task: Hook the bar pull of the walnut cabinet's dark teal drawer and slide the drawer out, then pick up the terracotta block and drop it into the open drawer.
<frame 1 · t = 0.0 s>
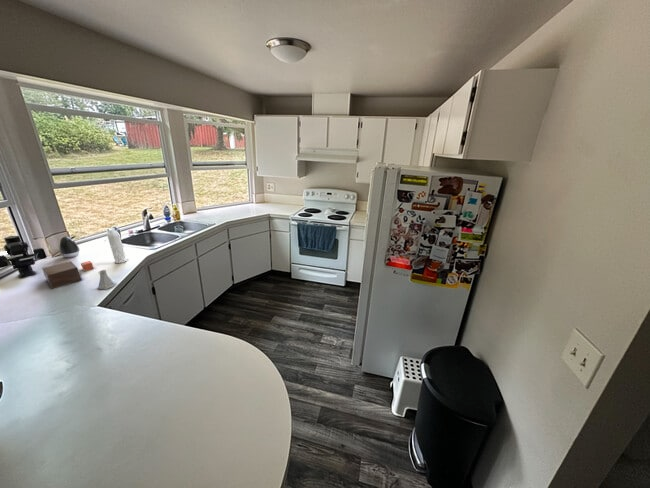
hand: (23, 261, 137), 17 cm above the table, tool horizontal, fingers open, 9 cm apart
white statue: (120, 262, 178), on the table
drawer: (60, 272, 152), point 4 cm above the table, slide at 0.5 cm
block: (88, 269, 166), on the table
cabinet: (64, 280, 151), on the table
black rounded dome: (72, 256, 185), on the table
flask: (107, 286, 146), on the table
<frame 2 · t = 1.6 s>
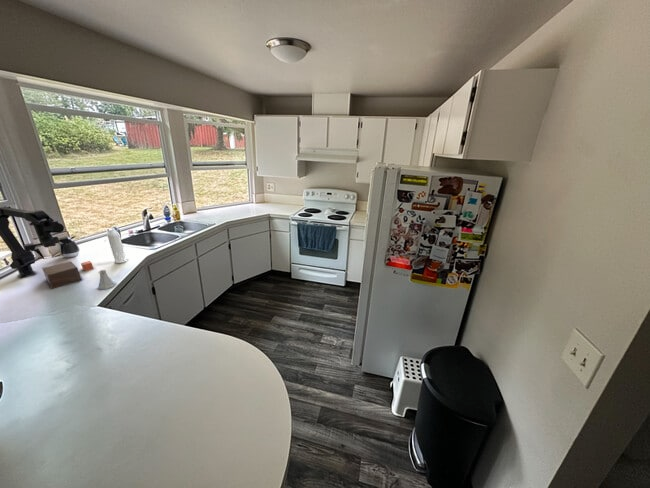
hand: (53, 256, 152), 13 cm above the table, tool pointing down, fingers open, 8 cm apart
nothing on the table moved.
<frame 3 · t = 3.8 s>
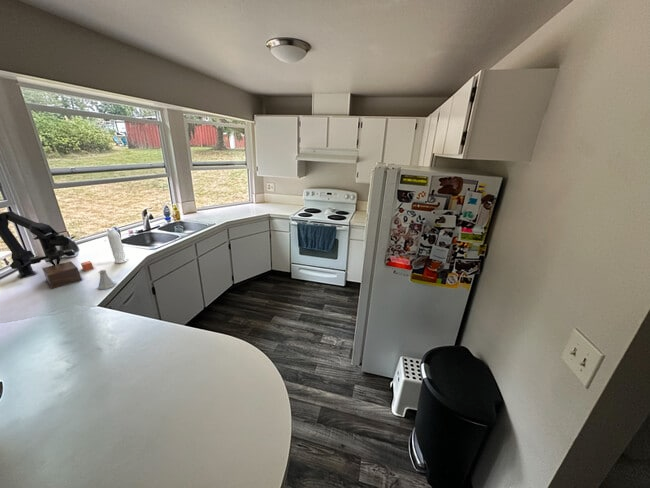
hand: (57, 268, 156), 4 cm above the table, tool pointing down, fingers closed
drawer: (60, 271, 152), point 4 cm above the table, slide at 0.9 cm
everything else where it was.
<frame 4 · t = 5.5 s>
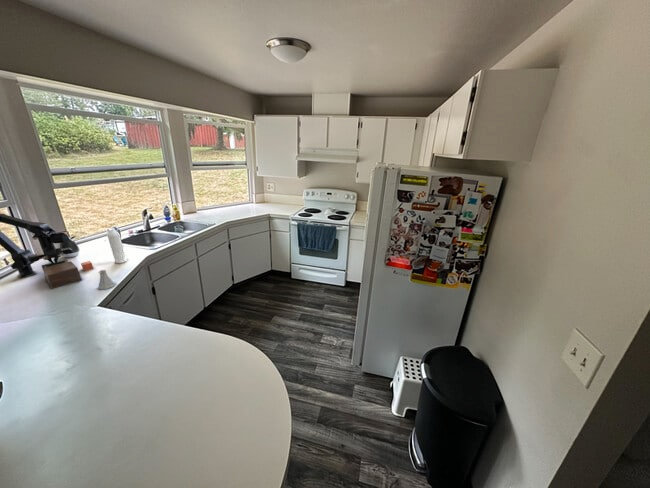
hand: (55, 266, 159), 4 cm above the table, tool pointing down, fingers closed
drawer: (57, 269, 156), point 4 cm above the table, slide at 7.1 cm
everything else where it was.
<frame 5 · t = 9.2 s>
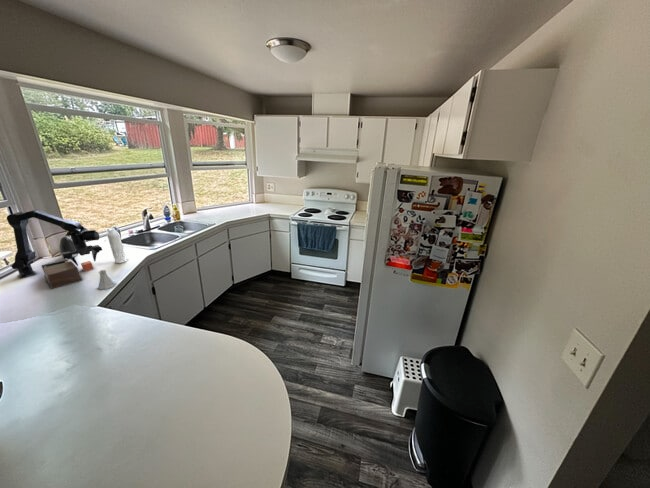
hand: (86, 263, 165), 4 cm above the table, tool pointing down, fingers open, 8 cm apart
nothing on the table moved.
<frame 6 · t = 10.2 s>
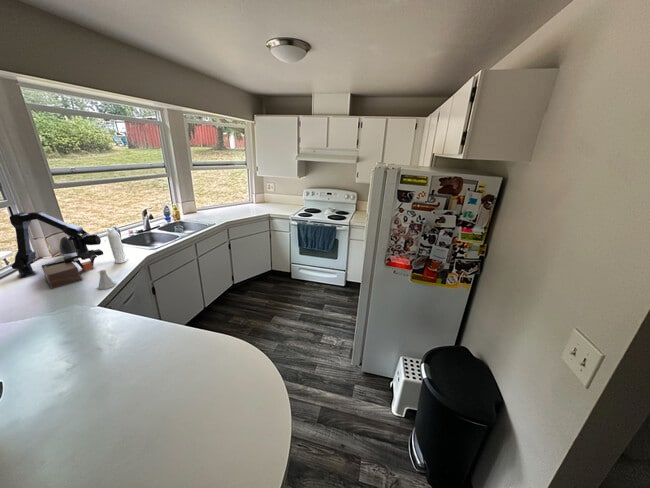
hand: (87, 267, 166), 1 cm above the table, tool pointing down, fingers closed on block, 4 cm apart
block: (88, 269, 166), on the table, touching gripper
everything else where it was.
when the fingers open (8 cm above the table, at t = 14.7 s): block drops 5 cm, resting on drawer.
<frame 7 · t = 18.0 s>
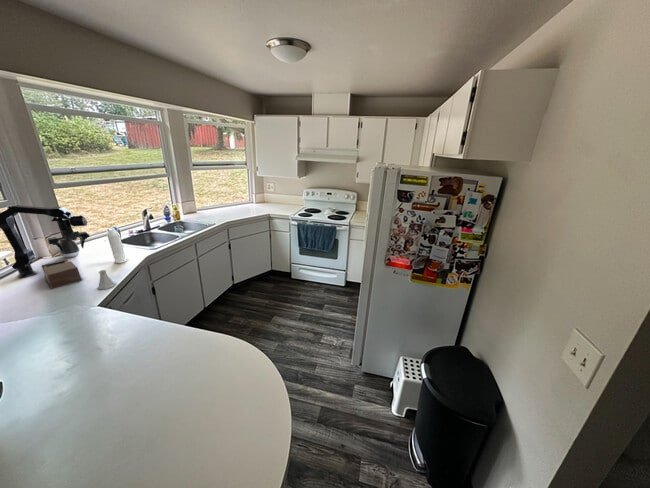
hand: (73, 250, 162), 13 cm above the table, tool pointing down, fingers open, 9 cm apart
drawer: (57, 269, 156), point 4 cm above the table, slide at 7.1 cm, touching block
block: (58, 272, 157), point 2 cm above the table, touching drawer
everything else where it was.
at the end: drawer slide at 7.1 cm; block inside the target area in the drawer (2.0 cm from its centre), point 2.0 cm above the cabinet's base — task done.
